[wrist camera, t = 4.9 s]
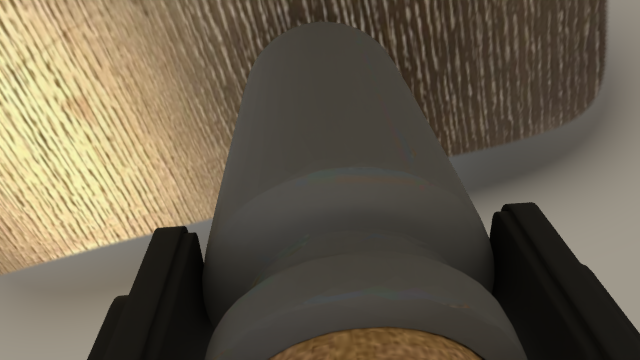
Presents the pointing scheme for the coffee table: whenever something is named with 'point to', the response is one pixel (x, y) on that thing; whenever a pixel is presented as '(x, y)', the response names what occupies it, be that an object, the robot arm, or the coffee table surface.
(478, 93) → the coffee table surface
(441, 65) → the coffee table surface
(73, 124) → the coffee table surface
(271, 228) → the bottle
